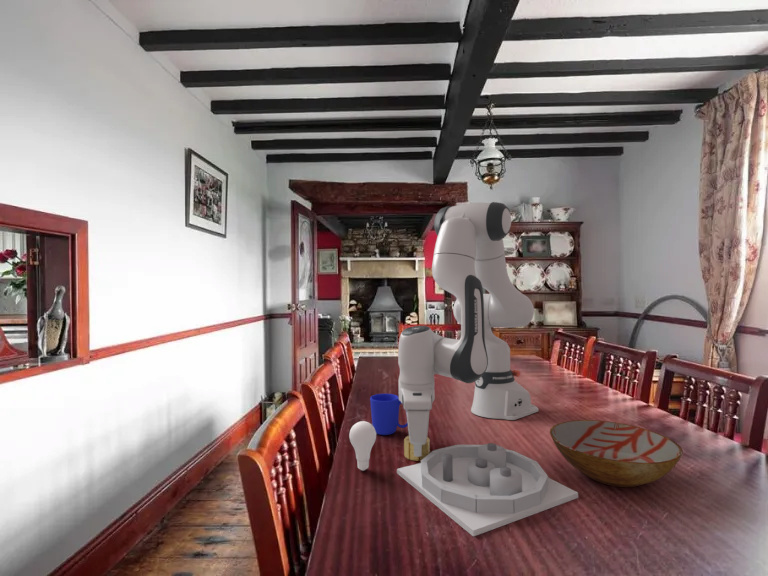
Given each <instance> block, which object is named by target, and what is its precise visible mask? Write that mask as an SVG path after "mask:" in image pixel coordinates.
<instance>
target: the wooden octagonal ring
mask: <svg viewBox="0 0 768 576" xmlns="http://www.w3.org/2000/svg"><path fill="white" fill-rule="evenodd" d="M430 442H431V439H430V437H428V436H427V441H426V444H424V445H422V455H421V456H420V457H415V456H414V446H413V444H411V443H410V438H409V435H407V436H405V438H404V439H403V454H404V455H403V456H404V457H405V458H406V459H407V460H410V461H414V462H415V461H417V462H419V461H420V462H421V460H422V459H423V458H425V457H426V456H427V455H428V454H430V453H431V443H430Z"/></svg>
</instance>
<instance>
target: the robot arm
mask: <svg viewBox="0 0 768 576" xmlns="http://www.w3.org/2000/svg"><path fill="white" fill-rule="evenodd" d="M433 224H434V225H433V228H434V232H435V234H436V236H437V237H436V241H435V245H434V250H433V258H432V263H431V264H432V265H431V273H432V277H433V281H435V283H436V284H437V286H439V287H440V288H441V289H442V290H444V291H446V292H447V293H449V294H451V295H452V296H454V297H455V298H456V300H455V302H454V305H453V308H452V311H453V317H454V318H455V320H456V322H457V323H458V324H460V338H459V339H456V338H449V337H444V336H441V335H439V334H438V333H436V332H434V331H432V328H431V327H429V326H427V325H414V326H409V327H407V328H405V329H404V330H402V331H401V333H400V335H399V340H398V341H399V342H398V348H397V349H398V350H397V352H398V353H397V354H398V355H397V358H398V359H397V360H398V361H397V363H398V364H397V365H398V367H399V376H398V397H399V401H401V405H402V406H403V409H404V411H405V415H406V420H407V421H406V423H408V426H407V430H408V431H407V432H408V436H409V438H410V443H411V444H413V446H414V456H415V457H420V456H421V455H422V445H424V444H426V441H427V437H428V434H429V433H428V432H429V424H430V423H429V422H430V421H429V419H430V410H433V408H432V407H433V402H434V401H435V399H436V398H435V393H436V392H435V377H434V376H435V375H440V376H444V377H447V378H451V379H454V380H456V381H459V382H462V383H465V384H472V383H474V391H473V392H474V394H473V399H472V403H471V404H472V405H471V408H470V412H471V413H472V414H473V415H476V416H479V417H482V418H486V419H487V418H488V419H499V420H506V421H507V420H508V421H516V420H518V419H521V418H524V417H527V416H529V415H532V414H535V413H538V412H539V408H538V406H536V405H535V404H532V402H531V401H532V399H531V395H530V392H529V391H528V390H527V389H525V388H524V387H523V386H522V385H521V384H520V383H518V382H517V381H516V380H515V379H516V378H515V377H518V378H519V377H520V376H521V371H520V370H516V369H513V370H512V369H511V348H510V345H508V344H509V343H508V342H506V341H505V340H503V339H501V338H500V337H499V336H496V335H495V334H494V333H493V331H492V328H509V329H511V328H519V327H525V326H528V325H530V324H529V323H531V322H532V319H533V317H534V313H535V307H534V304H533V302H532V300H531V299H530V298H529V297H528V296H527V295H525V294H523V293H522V292H520V290H519V289H518V288H516V286H515V285H514V284H513V283H512V280H511V279H510V277H509V275H508V273H509V272H508V269H507V262H506V253H505V245H504V239H505V237H506V236H507V235H509V233H510V230H511V226H512V215H511V211H510V209H509V208H508V206H507V205H506V204H505V203H503V202H497V201H496V202H495V201H492V202H470V203H466V204H459V205H453V206H452V205H448V206H445V207H442V208H440V209H439V210H438V211H437V213H436V215H435V217H434V222H433ZM484 290H486V291H487V292H488V293H484Z"/></svg>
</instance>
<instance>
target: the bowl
mask: <svg viewBox="0 0 768 576" xmlns="http://www.w3.org/2000/svg"><path fill="white" fill-rule="evenodd" d="M549 435H550V437H551V439H552V441H553V443H554V445H555V447H556V448H557V450H558V451H559V453H560V454H561V455H562V456H563V457H564V459H565V460H566V461H567V462H568V463H569V464H570V465H571V466H572V467H574V468H575V469H576V470H578V471H580V472H581V473H582V474H584V475H585V476H587V477H589V479H592V480H594V481H596V482H597V483H602V484H604V485H607V486H611V487H617V488H633V487H634V488H635V487H638V486H642V485H647V484H650V483H653V482H655V481H658V480H660V479H661V478H663V477H665V476H666V475H667V474H668V473H669V472H670V471H672V470H673V469H674V467H675V466H676V465H677V464H678V463H679V461H680V459H681V458H682V456H683V455H684V453H683V449H682V447H681V446H680V444H678V443H677V442H676V441H674V440H672V439H671V438H670V437H667V436H665V435H663V434H661V433H658V432H655V431H653V430H649V429H647V428H642V427H639V426H635V425H632V424H627V423H626V424H625V423H623V422H622V423H621V422H616V421H615V422H614V421H608V420H597V419H596V420H595V419H576V420H568V421H562V422H558V423H557V424H554V425H553V426H552V427H550V429H549Z"/></svg>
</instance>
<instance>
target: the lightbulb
mask: <svg viewBox="0 0 768 576" xmlns="http://www.w3.org/2000/svg"><path fill="white" fill-rule="evenodd" d="M348 434H349V435H348V437H349V442H350V443H351V446H352V447H353V449H354V452H355V459H356V462H357V464H356V465H357V469H359V470H360V471H362V472H364V471H366V470H368V469H369V467H370V458H371V451H372V448H373V446H374V445H375V442H376V440H377V433H376V431H375V428H374V427H373V426H372V423H370V422H368V421H364V420H362V421H361V420H360V421H358V422H356V423H354V424H353V425H352V426H351V428H350V430H349V433H348Z"/></svg>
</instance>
